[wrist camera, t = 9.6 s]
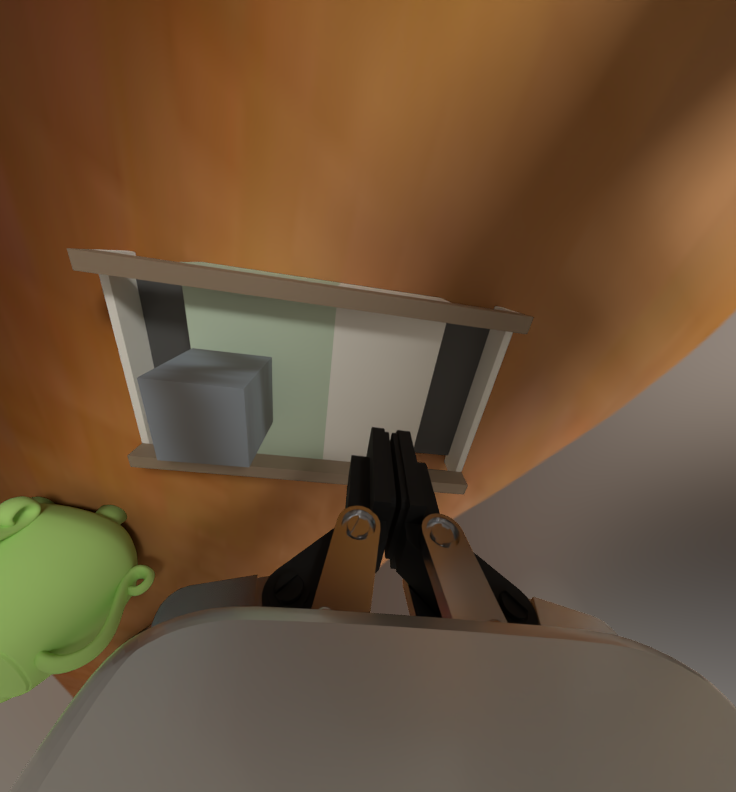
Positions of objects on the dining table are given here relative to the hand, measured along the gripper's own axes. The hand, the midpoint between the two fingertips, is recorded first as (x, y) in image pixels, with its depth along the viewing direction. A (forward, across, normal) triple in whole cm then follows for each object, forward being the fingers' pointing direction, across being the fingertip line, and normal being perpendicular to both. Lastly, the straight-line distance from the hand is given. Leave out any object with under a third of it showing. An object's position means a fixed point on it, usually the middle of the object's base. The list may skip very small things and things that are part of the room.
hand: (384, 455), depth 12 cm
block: (+8, +10, +2) cm, 12 cm away
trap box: (+10, +4, +1) cm, 11 cm away
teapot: (+9, +28, +21) cm, 36 cm away
